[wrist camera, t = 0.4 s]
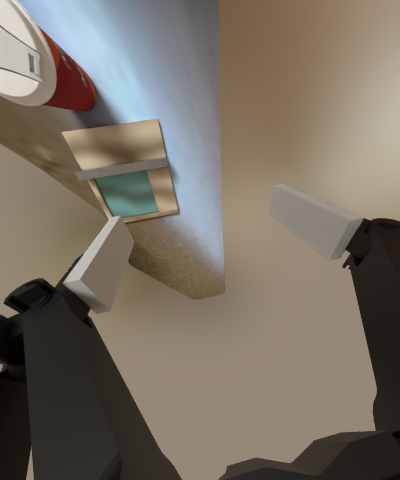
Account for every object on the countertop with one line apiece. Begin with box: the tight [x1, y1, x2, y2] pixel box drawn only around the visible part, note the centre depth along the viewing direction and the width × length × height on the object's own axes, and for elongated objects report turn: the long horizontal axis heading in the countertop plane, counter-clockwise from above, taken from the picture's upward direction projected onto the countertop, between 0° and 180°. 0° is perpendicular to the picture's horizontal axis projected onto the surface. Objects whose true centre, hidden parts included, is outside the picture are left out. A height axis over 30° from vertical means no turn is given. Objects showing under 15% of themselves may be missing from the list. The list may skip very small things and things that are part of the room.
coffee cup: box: [0, 0, 96, 111], centre depth 19 cm, size 8×8×15 cm
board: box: [62, 119, 179, 223], centre depth 34 cm, size 20×18×1 cm
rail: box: [74, 156, 168, 180], centre depth 31 cm, size 2×18×3 cm, turn 97°
